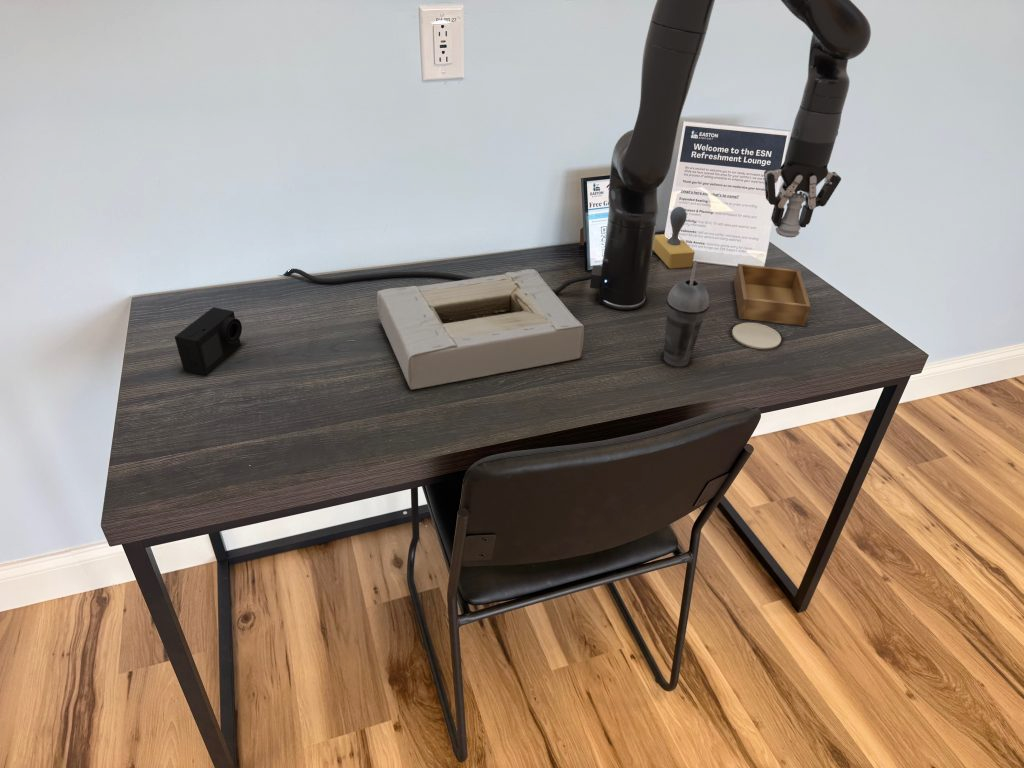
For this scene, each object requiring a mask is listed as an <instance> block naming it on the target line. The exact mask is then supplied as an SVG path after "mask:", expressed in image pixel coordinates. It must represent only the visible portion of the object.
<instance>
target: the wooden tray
mask: <svg viewBox="0 0 1024 768" xmlns="http://www.w3.org/2000/svg"><path fill="white" fill-rule="evenodd" d="M733 287H734V294H735V300H736V307H737V315H738V319H741V320H750V321H758V322H767V323H775V324H782V325H783V324H785V325H792V326H802V327H806V323H807V320H808V317H809V314H810V311H811V308H812V306H811V302H810V299H809V296H808V293H807V290H806V287H805V283H804V280H803V276H802V273H801V270H799V269H790V268H784V267H783V268H782V267H773V266H763V265H762V266H761V265H755V264H744V263H737V267H736V271H735V275H734V279H733Z"/></svg>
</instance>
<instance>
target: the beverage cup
mask: <svg viewBox="0 0 1024 768" xmlns="http://www.w3.org/2000/svg"><path fill="white" fill-rule="evenodd" d="M697 266H698V260H696V259H694V260H693V264H692V270H691V275H690V279H683V280H681V281H679V282H676V284H675V285H674V286H673V287H671V289H670V291H669V292H668V295H667V297H666V299H665V303H666V324H665V334H664V347H663V360H664V362H665V363H667V364H668V365H670V366H674V367H684V366H687V365H688V364H689V363H690V359H691V357H692V356H693V351H694V349H695V347H696V343H697V339H698V336H699V333H700V331H701V327H702V324H703V321H704V319H705V317H706V315H707V313H708V310H709V309H710V296H709V292H708V290H707V289H706V287H705V286H704V284H702V283H701V282H699V281H697V280H695V276H696V275H695V274H696V270H697Z"/></svg>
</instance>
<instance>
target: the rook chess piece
mask: <svg viewBox="0 0 1024 768" xmlns="http://www.w3.org/2000/svg"><path fill="white" fill-rule="evenodd" d="M798 192H799V193H798ZM805 200H806V199H805V193H804V192H803V191H797V192H794V193H793V194H792V196H791V197H790V198H789V199H788V200H787V201H788V202H787V203H786V209H785V211H784V212H785V213H783V217H782V220H781V224H780V226H779V227H777V226H776V227H775V232H776V234H777V235H779V236H781V237H783V238H796V237H798V236H799V235H800V230H801V227H800V225H799V223H800V222H799V219H800V214H801V210H802V208H803V205H802V204H804V203H805Z"/></svg>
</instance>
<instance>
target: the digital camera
mask: <svg viewBox="0 0 1024 768" xmlns="http://www.w3.org/2000/svg"><path fill="white" fill-rule="evenodd" d="M242 332H243V326H242V322H241V321H240V319H238V318H236V316H235V312H234V310H229V309H225V308H220V307H219V308H218V307H212V308H210V309H209V310H207V311H206V312H205V313H203V314H202V315H201V316H200V317H198V318H197V319H196V320H194V321H193V322H191V323H190V324H189V325H188V326H187V327H185V328H184V329H183V330H181V331H180V332H179V333H177V334H176V335H175V336H174V340H175V343H176V347H177V350H178V355H179V358H180V362H181V365H182V368H183V371H184V372H187V373H193V374H198V375H202V376H206V375H208V374H210V372H211V371H212V370H214V369H215V368H216V367H217V366H218V365H219V364H221V363H222V362H223V361H224V360H225V359H226V358H227V357H229V356H230V355H231V354H232V353H234V351H235V350H237V349H238V348H239V347H240V346H241V345H242V343H241V339H240V338H241V336H242Z"/></svg>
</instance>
